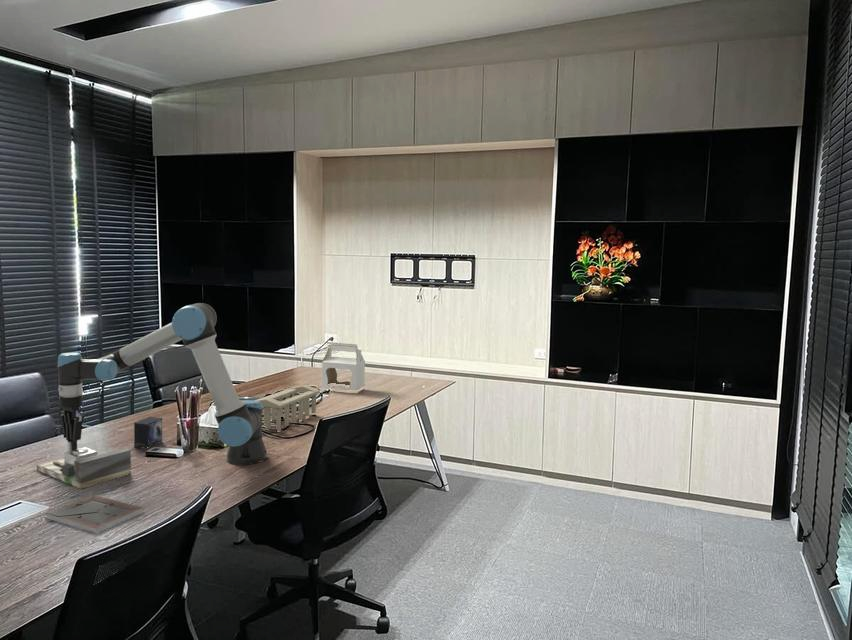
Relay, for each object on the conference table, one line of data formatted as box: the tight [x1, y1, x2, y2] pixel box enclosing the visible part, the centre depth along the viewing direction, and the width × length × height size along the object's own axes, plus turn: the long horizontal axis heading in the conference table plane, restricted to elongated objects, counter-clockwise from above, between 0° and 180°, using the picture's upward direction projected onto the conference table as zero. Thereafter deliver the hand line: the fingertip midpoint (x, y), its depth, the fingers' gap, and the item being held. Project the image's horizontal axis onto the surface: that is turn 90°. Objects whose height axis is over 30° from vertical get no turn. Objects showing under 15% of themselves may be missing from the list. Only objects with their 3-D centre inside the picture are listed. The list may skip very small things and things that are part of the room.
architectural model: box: [254, 384, 321, 431], centre depth 302 cm, size 35×15×15 cm, turn 159°
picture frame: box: [45, 494, 144, 534], centre depth 194 cm, size 16×2×22 cm
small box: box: [133, 416, 163, 449], centre depth 262 cm, size 11×6×10 cm, turn 168°
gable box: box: [321, 342, 366, 390], centre depth 371 cm, size 22×13×28 cm, turn 75°
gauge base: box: [36, 447, 132, 490], centre depth 229 cm, size 30×18×9 cm, turn 57°
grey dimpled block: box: [60, 446, 98, 471], centre depth 228 cm, size 8×13×5 cm, turn 147°
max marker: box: [62, 464, 75, 476], centre depth 220 cm, size 4×2×3 cm, turn 57°
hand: (72, 457), depth 233 cm, fingers closed
